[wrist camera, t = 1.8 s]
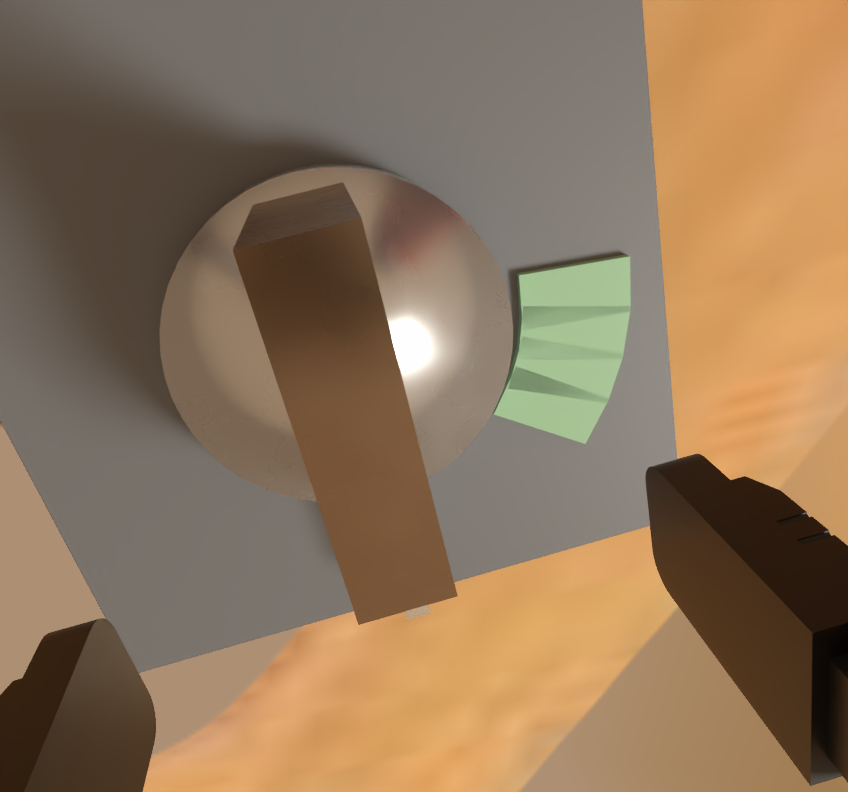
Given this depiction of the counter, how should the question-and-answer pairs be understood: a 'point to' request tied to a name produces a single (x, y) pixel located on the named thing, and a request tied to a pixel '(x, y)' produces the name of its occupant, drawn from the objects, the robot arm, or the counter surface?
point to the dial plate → (297, 147)
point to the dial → (342, 360)
